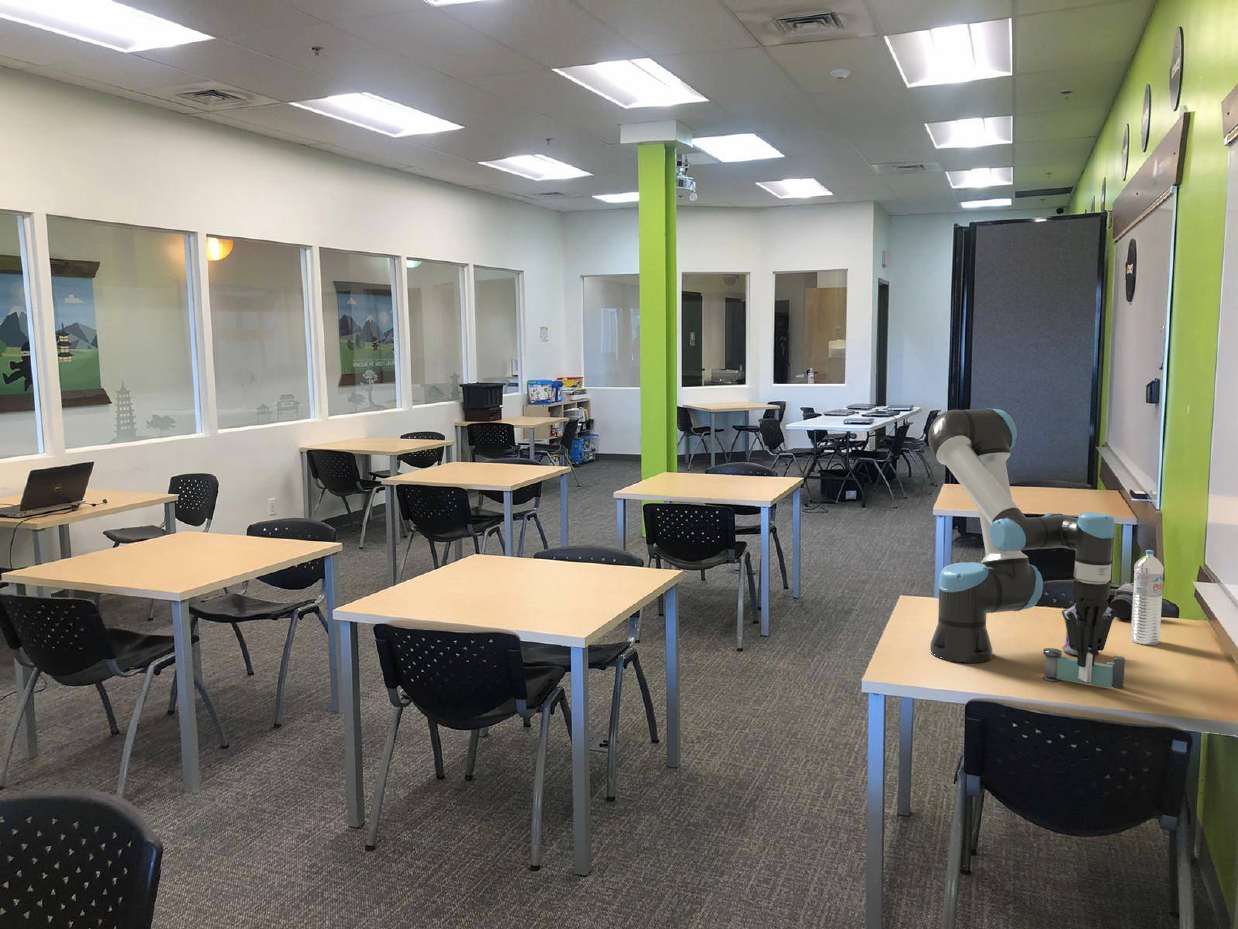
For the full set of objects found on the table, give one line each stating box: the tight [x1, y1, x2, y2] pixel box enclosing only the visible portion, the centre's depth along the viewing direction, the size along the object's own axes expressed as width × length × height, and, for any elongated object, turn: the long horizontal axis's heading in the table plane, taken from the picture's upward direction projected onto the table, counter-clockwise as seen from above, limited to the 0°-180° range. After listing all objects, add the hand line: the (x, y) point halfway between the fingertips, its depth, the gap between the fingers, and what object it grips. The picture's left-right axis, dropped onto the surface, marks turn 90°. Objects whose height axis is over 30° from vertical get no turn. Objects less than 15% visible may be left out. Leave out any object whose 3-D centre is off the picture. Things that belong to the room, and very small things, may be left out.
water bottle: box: [1130, 549, 1165, 646], centre depth 248 cm, size 7×7×25 cm
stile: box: [1106, 655, 1126, 689], centre depth 217 cm, size 3×3×7 cm
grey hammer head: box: [1042, 647, 1063, 683], centre depth 222 cm, size 4×4×7 cm
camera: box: [1107, 581, 1134, 620], centre depth 272 cm, size 16×10×10 cm, turn 48°
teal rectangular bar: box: [1044, 655, 1113, 689], centre depth 219 cm, size 14×3×5 cm, turn 54°
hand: (1084, 680), depth 216 cm, fingers closed
